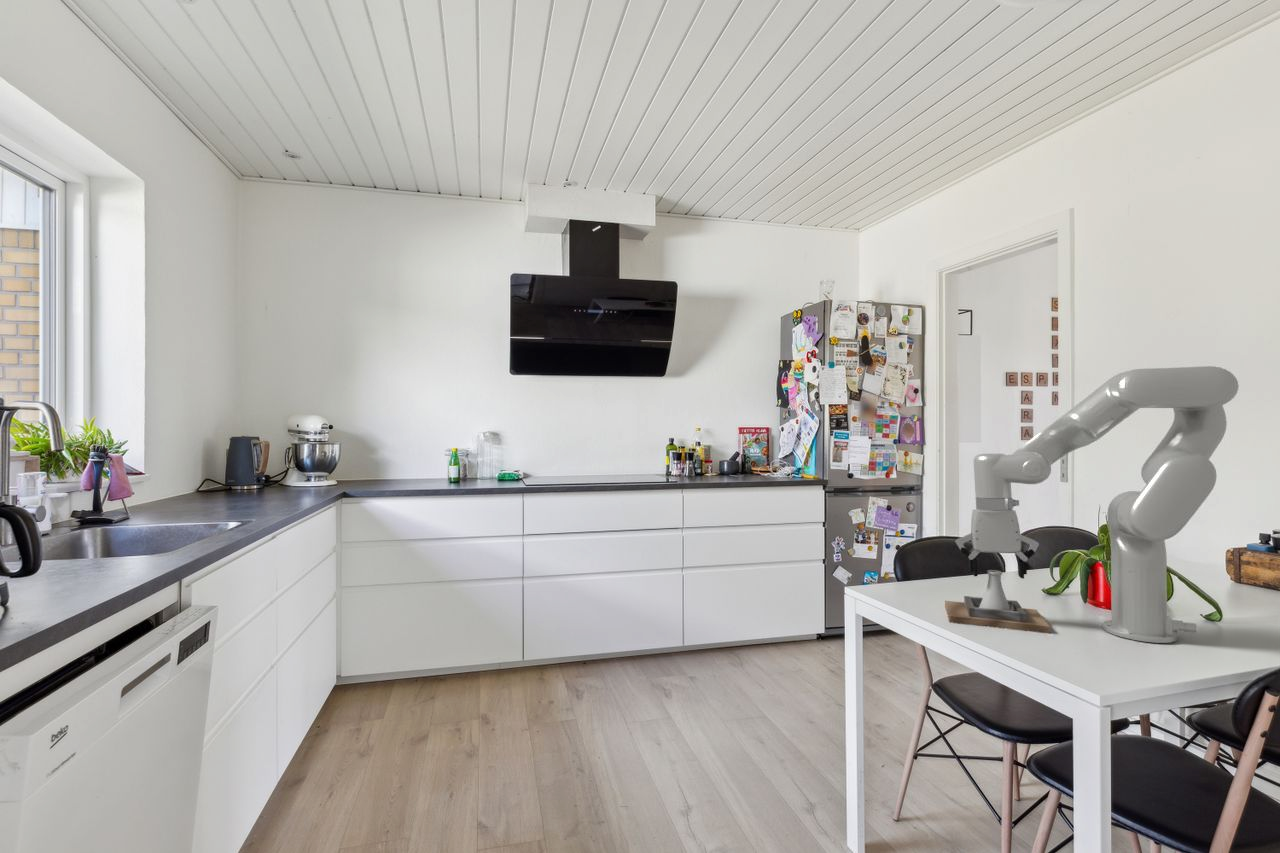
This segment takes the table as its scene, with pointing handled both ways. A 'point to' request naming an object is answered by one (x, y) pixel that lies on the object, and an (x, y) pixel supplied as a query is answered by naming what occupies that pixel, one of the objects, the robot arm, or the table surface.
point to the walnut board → (995, 615)
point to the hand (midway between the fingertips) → (997, 576)
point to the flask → (994, 593)
